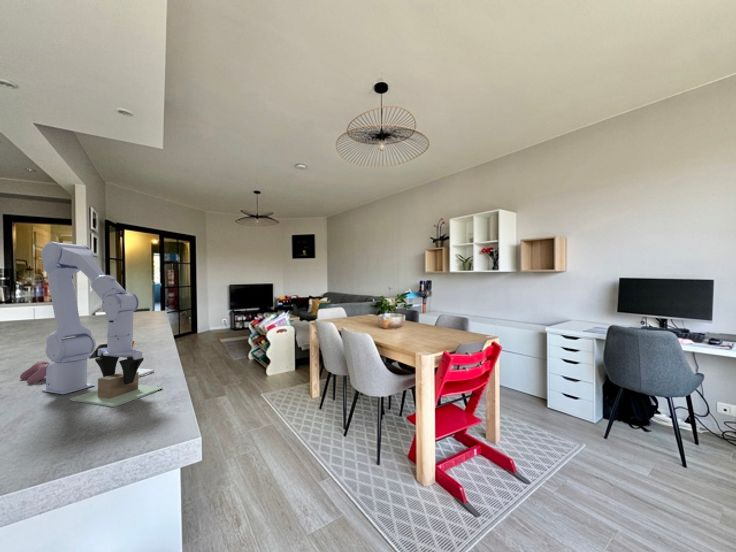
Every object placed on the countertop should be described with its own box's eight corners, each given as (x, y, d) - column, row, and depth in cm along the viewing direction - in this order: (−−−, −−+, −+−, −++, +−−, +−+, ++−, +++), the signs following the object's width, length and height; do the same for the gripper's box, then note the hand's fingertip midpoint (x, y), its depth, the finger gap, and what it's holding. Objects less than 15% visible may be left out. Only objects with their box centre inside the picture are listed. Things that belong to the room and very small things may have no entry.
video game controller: (44, 386, 99) (58, 365, 102) (25, 383, 96) (40, 361, 99) (35, 381, 104) (48, 360, 107) (17, 378, 101) (31, 357, 104)
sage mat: (70, 400, 85) (70, 398, 85) (122, 383, 98) (122, 382, 98) (113, 407, 80) (113, 405, 80) (162, 389, 94) (162, 387, 94)
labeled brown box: (126, 387, 94) (127, 370, 94) (138, 388, 92) (138, 371, 93) (97, 396, 86) (98, 378, 86) (109, 398, 85) (110, 379, 85)
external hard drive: (154, 374, 111) (120, 385, 99) (135, 372, 112) (99, 383, 100) (154, 369, 111) (120, 380, 99) (135, 367, 112) (99, 378, 100)
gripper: (86, 335, 88) (85, 383, 87) (125, 339, 84) (123, 389, 84) (112, 331, 94) (111, 376, 94) (149, 334, 91) (148, 381, 90)
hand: (118, 382), depth 89 cm, fingers open, 7 cm apart
